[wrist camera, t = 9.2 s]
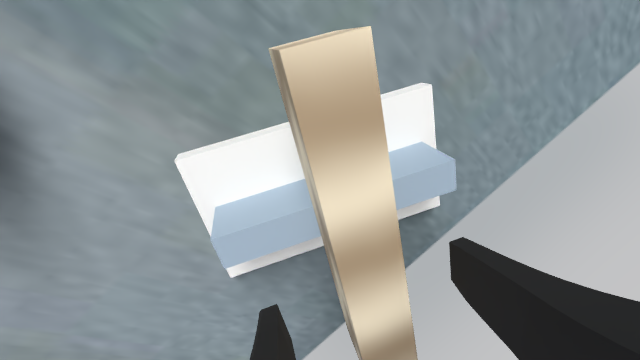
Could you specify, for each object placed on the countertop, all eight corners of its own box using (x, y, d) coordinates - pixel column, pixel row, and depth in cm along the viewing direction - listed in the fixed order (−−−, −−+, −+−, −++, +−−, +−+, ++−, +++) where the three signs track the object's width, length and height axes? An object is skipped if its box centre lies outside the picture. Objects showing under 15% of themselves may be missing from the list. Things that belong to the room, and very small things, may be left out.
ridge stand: (431, 198, 24) (472, 231, 20) (231, 266, 22) (229, 319, 18) (421, 82, 20) (470, 93, 16) (178, 154, 19) (159, 187, 14)
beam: (388, 314, 21) (418, 368, 18) (347, 329, 21) (370, 388, 17) (335, 30, 13) (370, 26, 10) (268, 48, 13) (279, 50, 9)
